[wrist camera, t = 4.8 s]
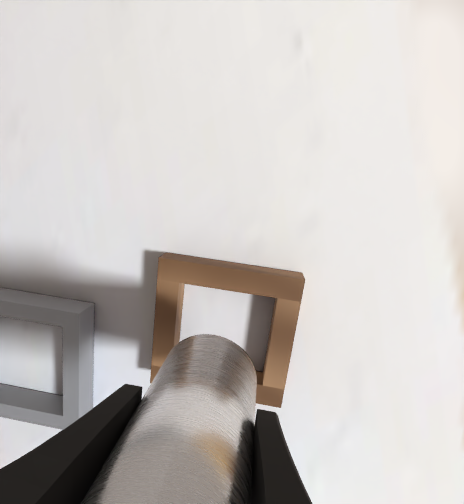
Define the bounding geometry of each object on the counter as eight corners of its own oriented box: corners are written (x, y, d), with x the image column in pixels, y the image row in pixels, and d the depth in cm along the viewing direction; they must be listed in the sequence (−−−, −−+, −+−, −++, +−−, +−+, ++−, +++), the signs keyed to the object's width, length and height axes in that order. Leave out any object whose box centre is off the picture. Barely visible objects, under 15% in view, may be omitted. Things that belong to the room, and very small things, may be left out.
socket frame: (279, 393, 18) (280, 407, 17) (157, 370, 18) (150, 383, 17) (302, 272, 16) (305, 279, 15) (166, 252, 17) (158, 257, 15)
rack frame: (92, 414, 20) (78, 432, 18) (-18, 392, 20) (-40, 408, 19) (94, 303, 18) (78, 313, 16) (-27, 282, 18) (-53, 291, 17)
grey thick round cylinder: (249, 426, 13) (223, 795, 5) (160, 408, 13) (6, 730, 5) (263, 343, 12) (257, 638, 4) (167, 326, 12) (-7, 571, 4)
